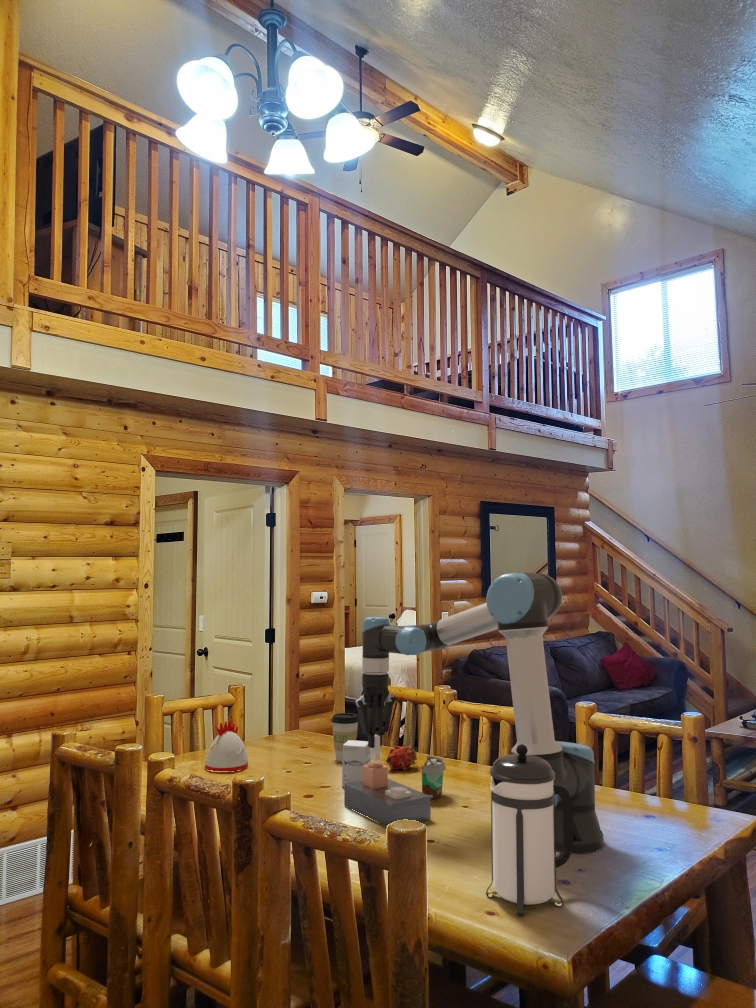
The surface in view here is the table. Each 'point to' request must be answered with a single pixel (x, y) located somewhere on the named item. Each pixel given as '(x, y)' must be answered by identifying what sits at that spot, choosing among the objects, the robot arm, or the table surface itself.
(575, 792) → the robot arm
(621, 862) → the table surface
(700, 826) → the table surface
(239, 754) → the kitchen timer
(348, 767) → the supplement box
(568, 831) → the coffee press
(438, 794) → the food container
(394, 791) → the dome-topped white cube
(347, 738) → the coffee cup
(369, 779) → the terracotta plunger
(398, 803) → the block
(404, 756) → the dragon fruit
